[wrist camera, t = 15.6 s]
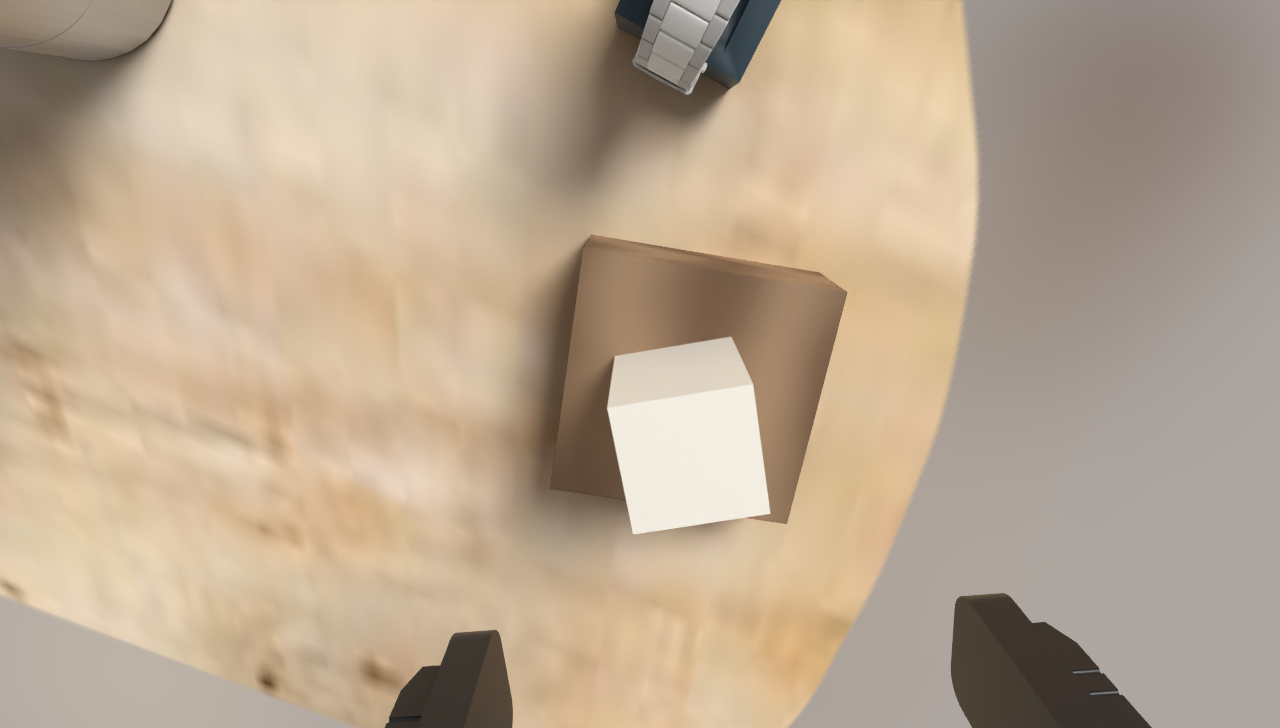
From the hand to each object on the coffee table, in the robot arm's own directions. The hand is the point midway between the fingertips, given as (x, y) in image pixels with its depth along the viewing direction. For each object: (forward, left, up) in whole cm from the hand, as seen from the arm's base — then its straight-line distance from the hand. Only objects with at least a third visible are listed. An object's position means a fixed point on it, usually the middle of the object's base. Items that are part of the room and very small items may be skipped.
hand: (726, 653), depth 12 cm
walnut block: (0, -2, -23) cm, 23 cm away
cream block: (0, -2, -18) cm, 18 cm away
